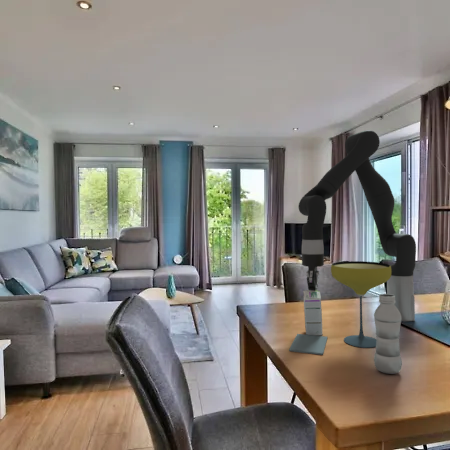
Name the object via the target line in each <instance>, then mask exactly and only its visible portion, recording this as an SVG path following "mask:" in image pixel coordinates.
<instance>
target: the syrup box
mask: <svg viewBox="0 0 450 450" xmlns="http://www.w3.org/2000/svg"><path fill="white" fill-rule="evenodd" d="M302 293H303V312H304V325H305V326H304V327H305V328H304V329H305V335H315V336H323V313H322V309H323V308H322V297H321V291H320V290H319V289H317V290H308V289H306V290H303V291H302Z"/></svg>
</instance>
